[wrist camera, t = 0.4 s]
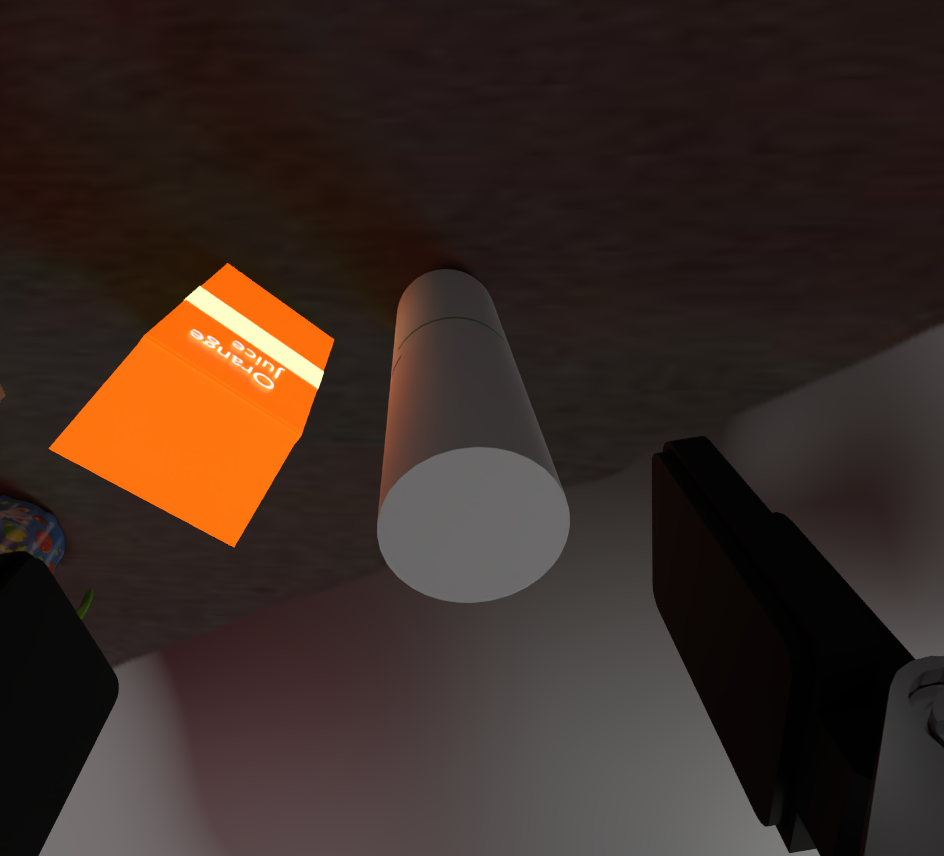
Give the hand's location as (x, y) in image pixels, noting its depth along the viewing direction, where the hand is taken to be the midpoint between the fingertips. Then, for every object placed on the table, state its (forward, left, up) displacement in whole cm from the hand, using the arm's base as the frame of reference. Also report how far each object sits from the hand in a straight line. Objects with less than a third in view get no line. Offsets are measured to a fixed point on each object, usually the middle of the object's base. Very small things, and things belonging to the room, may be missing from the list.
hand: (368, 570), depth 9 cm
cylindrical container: (+8, +2, -36) cm, 37 cm away
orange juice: (+9, -12, -36) cm, 39 cm away
